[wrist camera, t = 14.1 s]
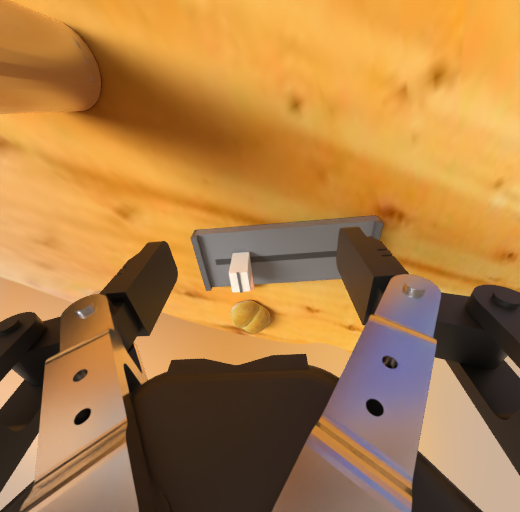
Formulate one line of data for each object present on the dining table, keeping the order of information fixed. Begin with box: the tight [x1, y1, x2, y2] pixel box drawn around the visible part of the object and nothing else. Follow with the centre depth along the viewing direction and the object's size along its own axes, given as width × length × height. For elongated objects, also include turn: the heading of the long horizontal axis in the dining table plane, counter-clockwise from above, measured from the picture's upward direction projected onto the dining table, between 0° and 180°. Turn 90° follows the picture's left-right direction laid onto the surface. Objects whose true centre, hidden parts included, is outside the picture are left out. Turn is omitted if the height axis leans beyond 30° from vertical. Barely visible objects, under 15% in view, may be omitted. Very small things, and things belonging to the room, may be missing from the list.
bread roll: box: [231, 300, 271, 333], centre depth 52 cm, size 8×9×4 cm
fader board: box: [191, 215, 383, 291], centre depth 43 cm, size 32×13×3 cm, turn 95°
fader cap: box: [229, 252, 252, 293], centre depth 40 cm, size 3×4×6 cm
